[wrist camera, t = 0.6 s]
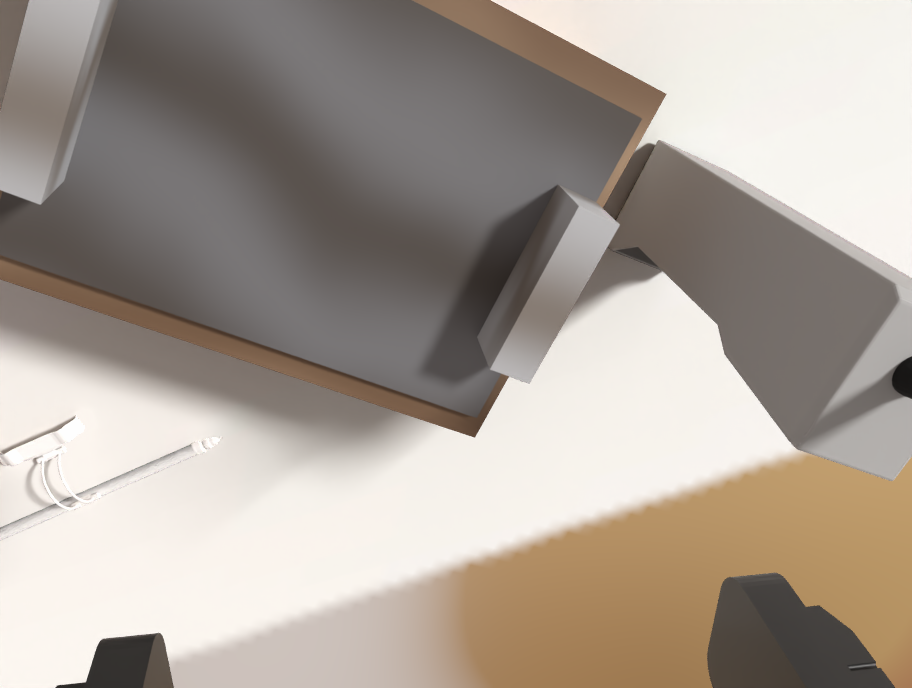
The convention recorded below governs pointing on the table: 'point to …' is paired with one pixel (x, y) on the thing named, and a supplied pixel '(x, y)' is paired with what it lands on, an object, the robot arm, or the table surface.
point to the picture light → (48, 450)
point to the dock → (318, 183)
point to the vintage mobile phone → (784, 307)
